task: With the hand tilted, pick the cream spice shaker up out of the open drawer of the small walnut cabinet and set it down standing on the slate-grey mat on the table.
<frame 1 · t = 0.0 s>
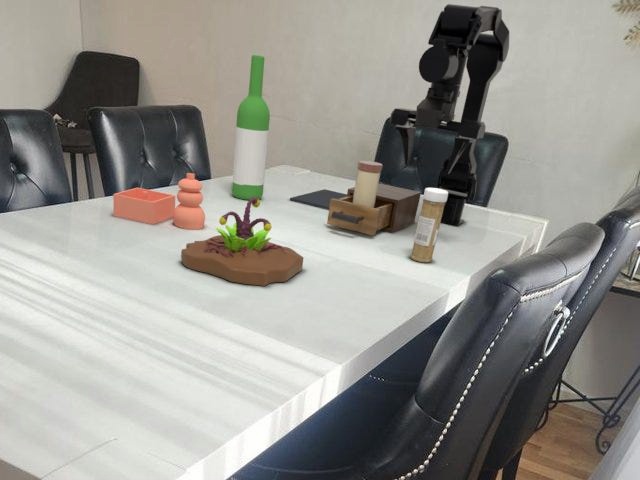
hand: (426, 169, 137), 15 cm above the table, tool pointing down, fingers open, 9 cm apart
spice jar: (420, 260, 132), on the table
drawer: (361, 213, 145), point 4 cm above the table, slide at 9.0 cm, touching spice shaker
pottery: (164, 221, 135), on the table
cabinet: (379, 221, 157), on the table
plant: (244, 266, 115), on the table
mat: (341, 203, 170), on the table
spice shaker: (360, 220, 146), point 2 cm above the table, touching drawer
wine bottle: (246, 198, 163), on the table
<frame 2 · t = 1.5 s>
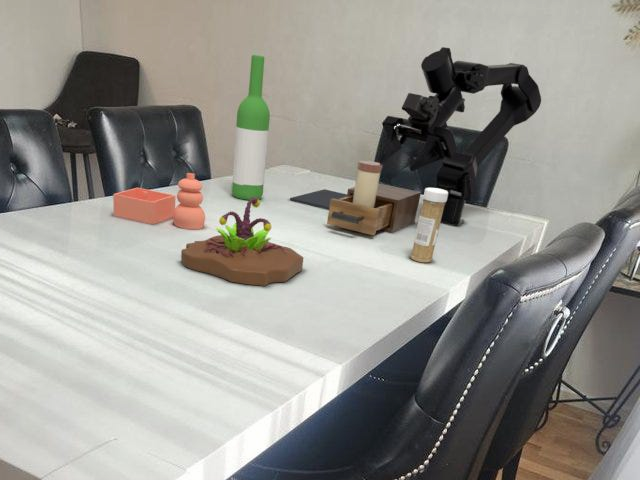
hand: (395, 165, 144), 13 cm above the table, tool tilted 45°, fingers open, 9 cm apart
nothing on the table moved.
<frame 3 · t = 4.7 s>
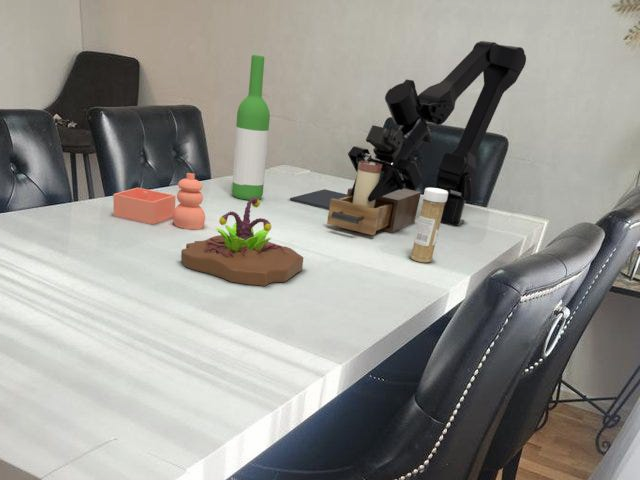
hand: (360, 197, 143), 7 cm above the table, tool tilted 45°, fingers closed on spice shaker, 5 cm apart
spice shaker: (360, 220, 146), point 2 cm above the table, touching drawer, gripper
everything else where it was.
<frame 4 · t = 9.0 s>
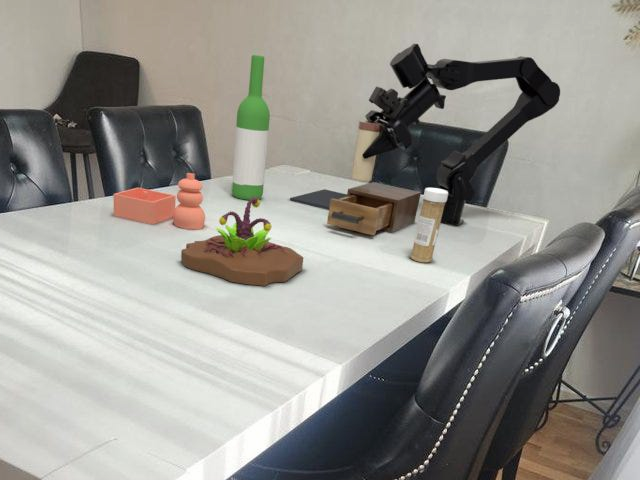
hand: (359, 155, 152), 13 cm above the table, tool tilted 45°, fingers closed on spice shaker, 5 cm apart
drawer: (361, 213, 145), point 4 cm above the table, slide at 9.0 cm
spice shaker: (361, 178, 155), point 8 cm above the table, touching gripper
everything else where it was.
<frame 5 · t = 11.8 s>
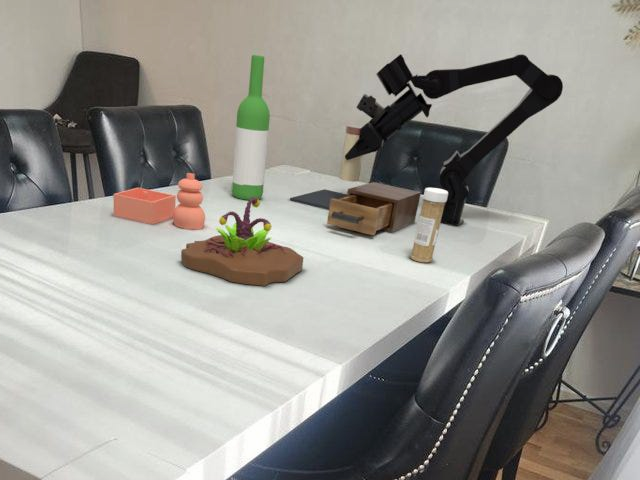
hand: (347, 156, 163), 11 cm above the table, tool tilted 45°, fingers closed on spice shaker, 5 cm apart
spice shaker: (348, 179, 166), point 6 cm above the table, touching gripper
everything else where it was.
when the fingers open (6 cm above the table, at t = 13.8 s): spice shaker stays where it is, resting on mat.
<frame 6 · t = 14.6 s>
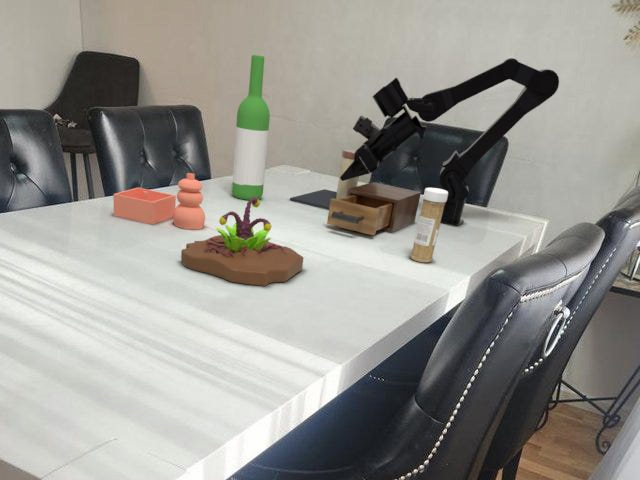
hand: (343, 176, 166), 7 cm above the table, tool tilted 45°, fingers open, 9 cm apart
spice shaker: (344, 201, 169), point 1 cm above the table, touching mat
everything else where it was.
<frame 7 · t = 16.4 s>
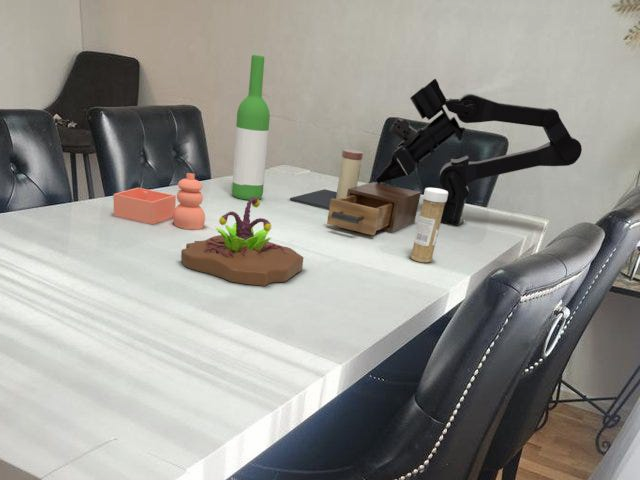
hand: (378, 178, 164), 7 cm above the table, tool tilted 45°, fingers open, 9 cm apart
nothing on the table moved.
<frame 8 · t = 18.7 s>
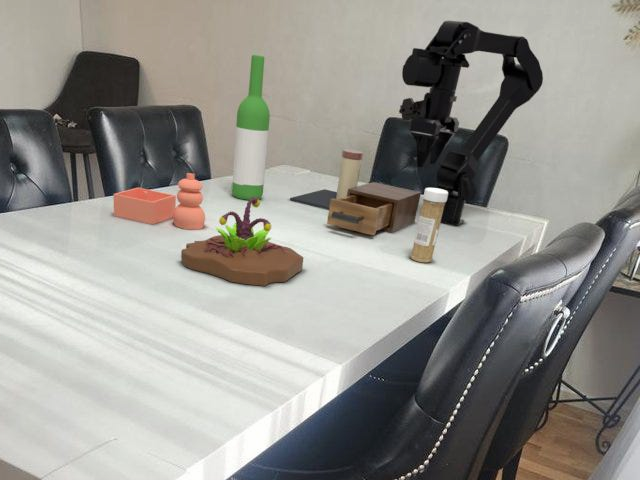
hand: (426, 165, 153), 13 cm above the table, tool pointing down, fingers open, 9 cm apart
nothing on the table moved.
at the end: spice shaker inside the target area on the mat (1.0 cm from its centre), point 0.6 cm above the mat's base; spice shaker tilted 0°; the gripper is holding nothing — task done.
